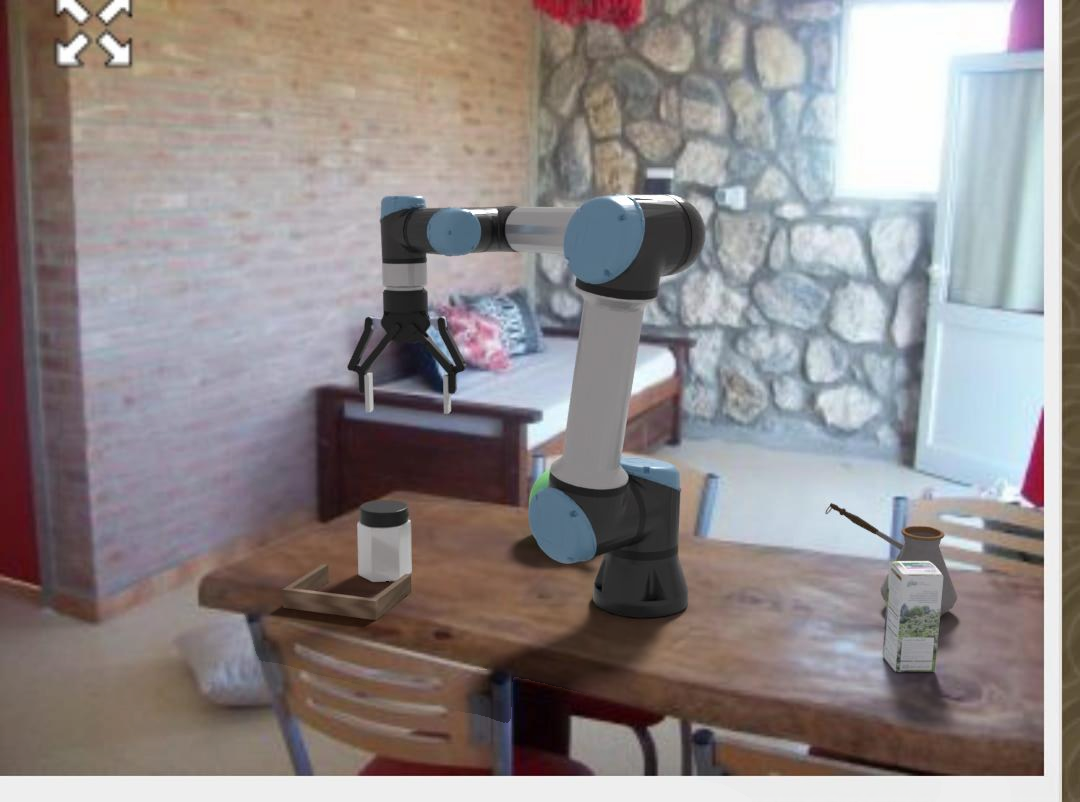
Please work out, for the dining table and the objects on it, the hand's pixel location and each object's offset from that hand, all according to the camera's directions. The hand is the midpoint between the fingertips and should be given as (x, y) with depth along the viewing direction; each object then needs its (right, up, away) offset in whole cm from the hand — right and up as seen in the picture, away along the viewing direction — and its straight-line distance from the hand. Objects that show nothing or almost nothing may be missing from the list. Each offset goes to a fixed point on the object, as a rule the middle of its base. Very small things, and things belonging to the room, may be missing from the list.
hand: (408, 412), depth 204 cm
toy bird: (+29, -24, +18) cm, 41 cm away
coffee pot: (+78, -31, -15) cm, 85 cm away
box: (-8, -30, -14) cm, 34 cm away
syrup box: (+74, -35, -38) cm, 90 cm away
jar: (-4, -28, -3) cm, 28 cm away
